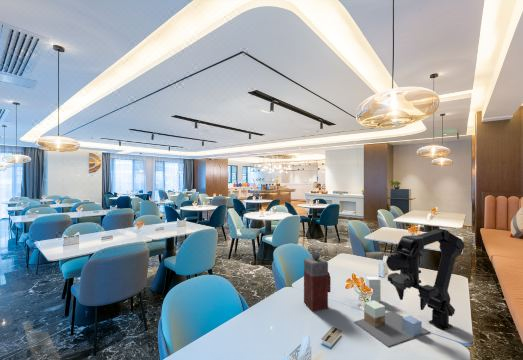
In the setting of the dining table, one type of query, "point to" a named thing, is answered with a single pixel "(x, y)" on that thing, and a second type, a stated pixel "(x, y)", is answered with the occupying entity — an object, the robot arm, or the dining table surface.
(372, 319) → the tower base
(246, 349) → the dining table surface
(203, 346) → the dining table surface
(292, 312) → the dining table surface
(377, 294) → the skincare box
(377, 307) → the tower mid
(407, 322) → the cube
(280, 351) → the dining table surface
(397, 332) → the placemat
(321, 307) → the dark red bottle
